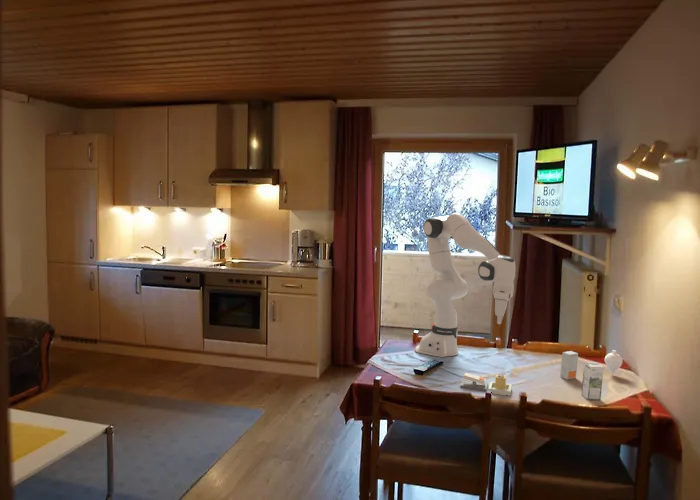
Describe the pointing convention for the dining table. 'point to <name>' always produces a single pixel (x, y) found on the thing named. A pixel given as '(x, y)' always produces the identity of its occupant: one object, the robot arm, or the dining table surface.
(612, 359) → the spinning top
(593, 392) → the syrup box
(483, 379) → the rocker
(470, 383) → the switch base
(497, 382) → the lockout cap
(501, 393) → the socket
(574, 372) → the skincare box
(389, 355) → the dining table surface
